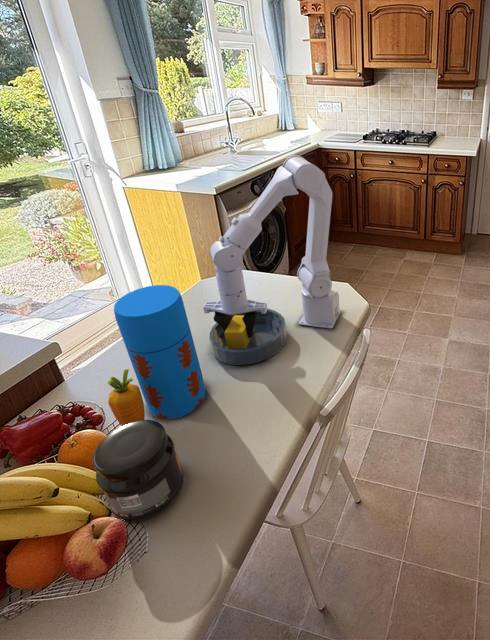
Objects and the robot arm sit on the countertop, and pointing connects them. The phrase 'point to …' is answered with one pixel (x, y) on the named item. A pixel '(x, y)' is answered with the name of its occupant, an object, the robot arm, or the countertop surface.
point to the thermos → (161, 350)
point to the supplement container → (138, 470)
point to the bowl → (252, 340)
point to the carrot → (126, 400)
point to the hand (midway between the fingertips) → (240, 335)
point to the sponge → (237, 333)
